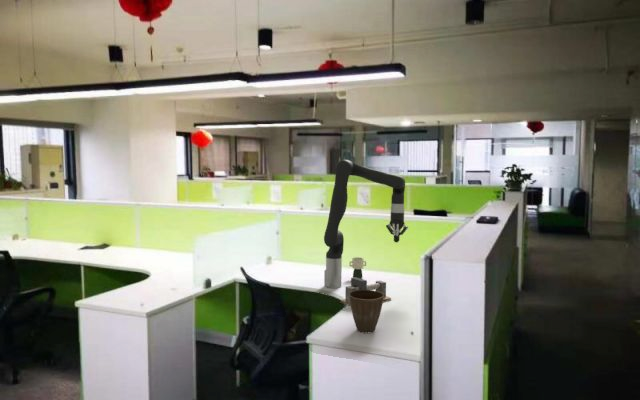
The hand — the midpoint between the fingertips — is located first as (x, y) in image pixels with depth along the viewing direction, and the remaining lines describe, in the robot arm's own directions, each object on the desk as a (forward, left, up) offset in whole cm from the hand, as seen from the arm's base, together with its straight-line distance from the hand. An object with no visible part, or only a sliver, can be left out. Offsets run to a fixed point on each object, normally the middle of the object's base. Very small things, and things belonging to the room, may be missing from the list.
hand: (396, 242), depth 269 cm
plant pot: (+14, -65, -29) cm, 73 cm away
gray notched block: (-8, -30, -25) cm, 40 cm away
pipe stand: (-6, -25, -29) cm, 39 cm away
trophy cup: (-33, +17, -29) cm, 47 cm away
